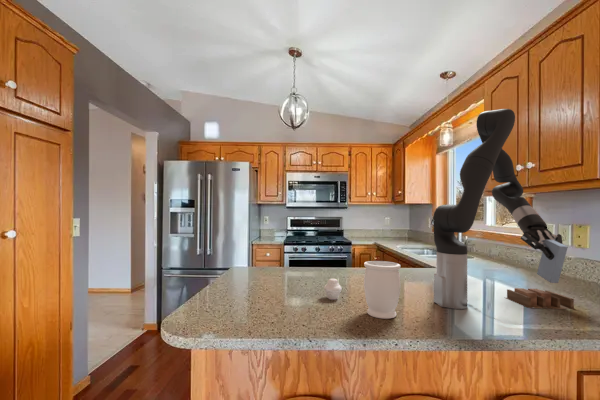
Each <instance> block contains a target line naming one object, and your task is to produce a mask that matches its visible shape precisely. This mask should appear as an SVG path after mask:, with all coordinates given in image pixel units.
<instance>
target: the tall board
mask: <svg viewBox="0 0 600 400" xmlns="http://www.w3.org/2000/svg"><path fill="white" fill-rule="evenodd" d="M545 243H546V245H547V246H548V248H549V249H550V250H551V252H552V253H553V254H554V258H553V259H552V260H549V259H548V258H547V257H546V256H545V254H544V253H543V252H542V251H541V256H540V260H539V264H538V268H537V272H536V274H537V276H538V277H541V278H542V279H544V280H546V281H547V282H548V283H552V284H558V283H559V281H560V278H561V274H562V272H563V271H562V270H563V266H564V263H565V259H566V254H567V251H568V248H569V246H568V245H565V244H561V243H559V242H557V241H555V240H547V239H545Z"/></svg>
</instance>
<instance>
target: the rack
mask: <svg viewBox="0 0 600 400" xmlns="http://www.w3.org/2000/svg"><path fill="white" fill-rule="evenodd" d="M544 291H545V292H548V293H551V306H546V298H544V297H541V296H538V295H537V306H536V305H531V298H530V297H528V296H525V295H522V294H520V293H517V292H515V291H514V290H512V289H506V297H505V299H506V300H509V301H511V302H513V303H515V304H518V305H520V306H522V307H525V308H527V309H529V308H531V309H557V310H558V309H559V310H560V309H562V310H563V309H564V310H575V304H574V303H575V299H574V298H572V297H569V296H567V295H563V294H559V293H556V292H554V291H550V290H544Z"/></svg>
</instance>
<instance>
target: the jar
mask: <svg viewBox="0 0 600 400" xmlns="http://www.w3.org/2000/svg"><path fill="white" fill-rule="evenodd" d="M363 264H364V267H365V270H364V274H363V275H364V277H363V287H364V288H363V289H364V296H365V301H366V304H367V307H368V309H367V310H366V313H367V314H368V316H370V317H373V318H377V319H385V320H388V319H393V318H396V316H397V314H398V313H397V312H396V309H397V306H398V304H399V299H400V293H401V285H402V284H401V276H400V275H401V274H400V271H399V270H400V269H401V264H399V263H397V262H393V261H385V260H368V261H365V262H364V263H363Z"/></svg>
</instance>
